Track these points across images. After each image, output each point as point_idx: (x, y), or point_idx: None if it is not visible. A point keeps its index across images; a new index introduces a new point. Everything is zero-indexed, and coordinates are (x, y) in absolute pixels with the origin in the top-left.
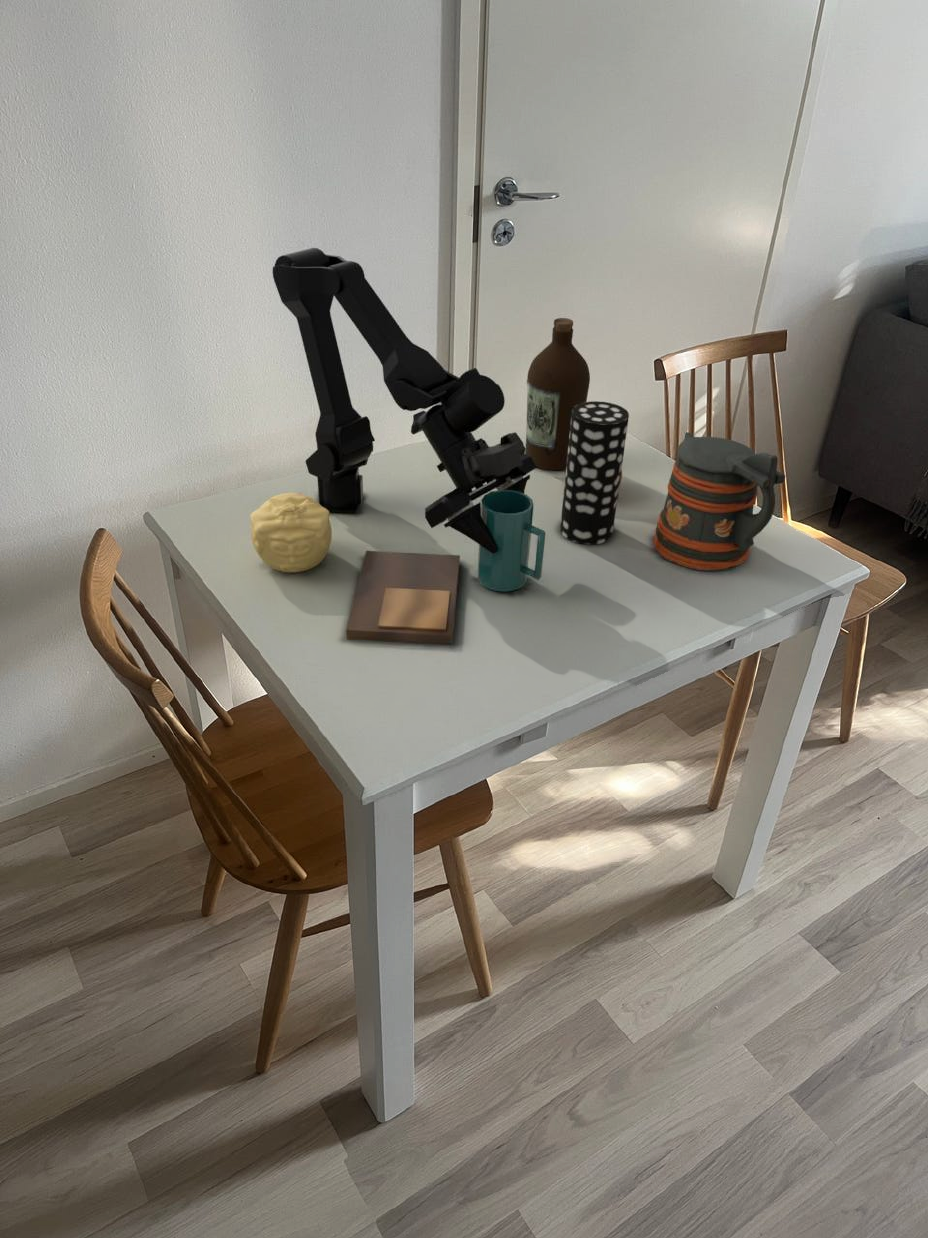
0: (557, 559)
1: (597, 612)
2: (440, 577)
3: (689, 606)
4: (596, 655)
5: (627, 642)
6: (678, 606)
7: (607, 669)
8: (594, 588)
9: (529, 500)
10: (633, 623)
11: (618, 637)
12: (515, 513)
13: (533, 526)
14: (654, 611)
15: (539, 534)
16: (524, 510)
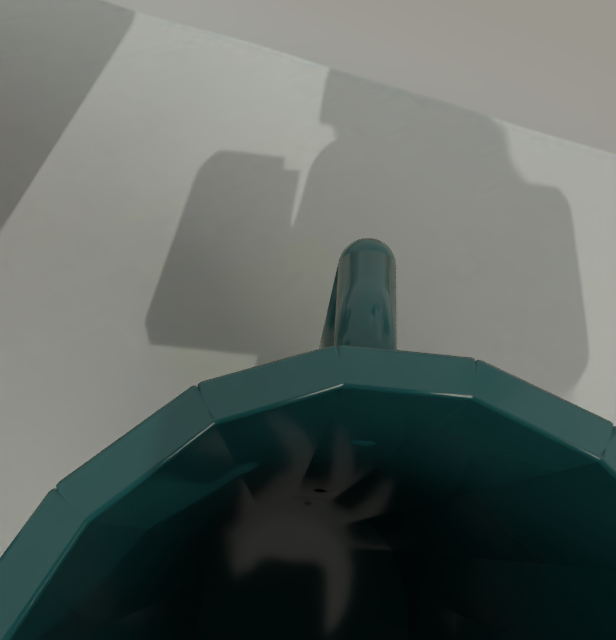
0: (8, 493)
1: (267, 228)
2: None
3: (102, 78)
4: (437, 161)
5: (340, 130)
6: (116, 95)
7: (462, 128)
8: (147, 286)
9: (109, 504)
10: (256, 145)
11: (336, 150)
12: (593, 449)
13: (369, 332)
14: (172, 126)
15: (395, 270)
16: (106, 610)
